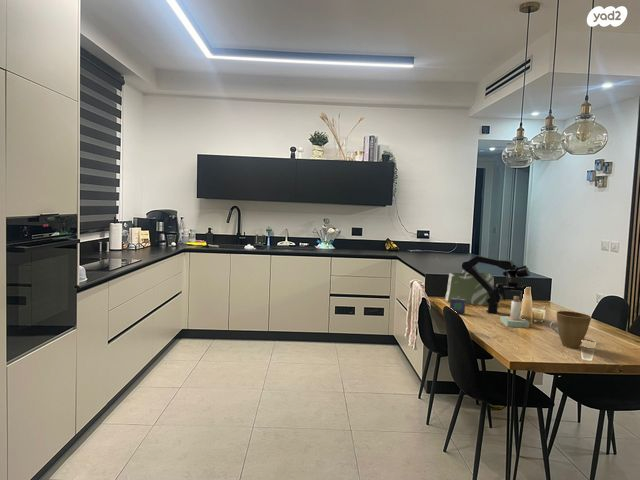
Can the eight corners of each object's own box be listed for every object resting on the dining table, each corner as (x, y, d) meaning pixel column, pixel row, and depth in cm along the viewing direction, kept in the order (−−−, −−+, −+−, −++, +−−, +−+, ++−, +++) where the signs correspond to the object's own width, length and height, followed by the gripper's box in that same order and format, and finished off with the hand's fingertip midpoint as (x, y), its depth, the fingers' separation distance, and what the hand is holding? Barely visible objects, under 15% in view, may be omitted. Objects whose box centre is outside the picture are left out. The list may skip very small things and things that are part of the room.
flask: (464, 313, 285) (465, 296, 284) (465, 314, 282) (466, 297, 281) (449, 312, 285) (450, 295, 284) (450, 313, 282) (451, 296, 282)
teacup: (577, 336, 243) (579, 321, 243) (579, 342, 234) (581, 326, 233) (548, 332, 249) (549, 318, 249) (549, 337, 239) (550, 322, 239)
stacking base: (500, 320, 270) (500, 315, 269) (521, 322, 269) (521, 316, 269) (507, 326, 258) (507, 320, 257) (529, 327, 257) (529, 321, 257)
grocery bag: (447, 302, 314) (449, 269, 312) (444, 298, 328) (446, 266, 326) (495, 306, 310) (498, 272, 308) (491, 302, 324) (493, 269, 322)
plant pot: (595, 350, 221) (598, 317, 219) (570, 351, 217) (573, 318, 215) (570, 340, 235) (573, 310, 234) (546, 341, 231) (549, 310, 229)
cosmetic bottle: (508, 317, 266) (510, 295, 265) (517, 317, 265) (519, 295, 264) (511, 319, 261) (513, 296, 260) (520, 319, 261) (522, 297, 259)
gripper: (497, 270, 277) (498, 291, 267) (530, 272, 272) (532, 294, 263) (494, 281, 285) (495, 302, 275) (527, 283, 281) (529, 305, 271)
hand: (513, 300), depth 271 cm, fingers open, 9 cm apart
